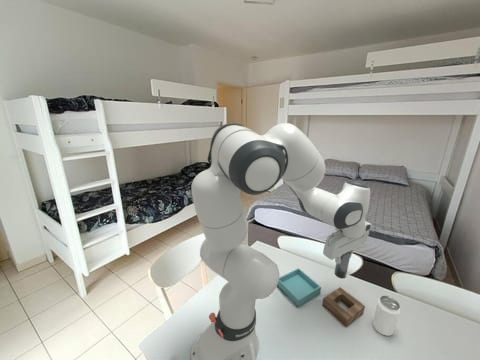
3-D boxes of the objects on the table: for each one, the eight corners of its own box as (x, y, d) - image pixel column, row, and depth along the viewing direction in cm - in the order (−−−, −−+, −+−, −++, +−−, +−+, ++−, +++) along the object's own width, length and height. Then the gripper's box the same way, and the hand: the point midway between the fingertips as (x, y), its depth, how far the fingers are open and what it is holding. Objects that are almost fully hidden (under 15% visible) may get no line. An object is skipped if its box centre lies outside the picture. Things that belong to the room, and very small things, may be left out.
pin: (341, 280, 78) (346, 257, 75) (332, 273, 81) (336, 250, 78) (348, 276, 80) (353, 253, 77) (338, 269, 83) (343, 247, 80)
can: (388, 340, 73) (396, 314, 69) (368, 325, 78) (375, 300, 74) (396, 329, 77) (404, 304, 73) (376, 316, 82) (383, 291, 78)
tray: (297, 307, 85) (298, 300, 84) (276, 285, 96) (277, 278, 94) (320, 294, 91) (321, 286, 90) (297, 274, 102) (298, 267, 101)
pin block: (346, 327, 77) (347, 319, 76) (322, 305, 86) (323, 297, 85) (363, 313, 83) (365, 306, 81) (338, 294, 91) (340, 287, 90)
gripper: (337, 239, 66) (331, 275, 71) (374, 223, 76) (367, 255, 81) (321, 230, 72) (316, 264, 76) (357, 216, 81) (351, 247, 86)
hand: (342, 259), depth 78 cm, fingers closed on pin, 4 cm apart
